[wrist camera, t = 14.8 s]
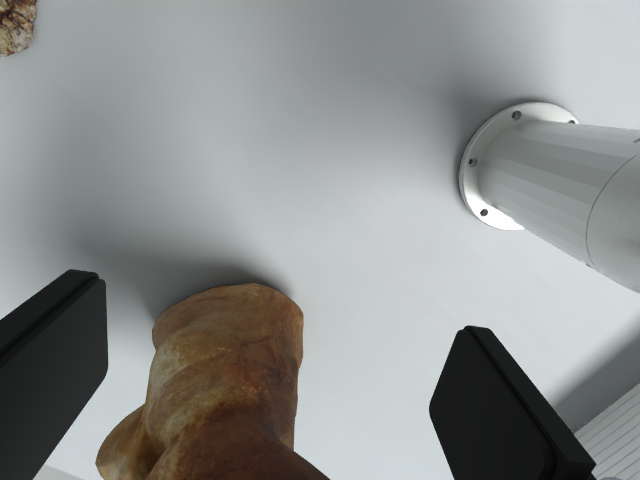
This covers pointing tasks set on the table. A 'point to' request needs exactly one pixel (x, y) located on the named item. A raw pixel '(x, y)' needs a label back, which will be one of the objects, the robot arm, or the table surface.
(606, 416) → the white long block
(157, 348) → the ceramic vessel
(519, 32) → the table surface
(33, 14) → the mineral rock
